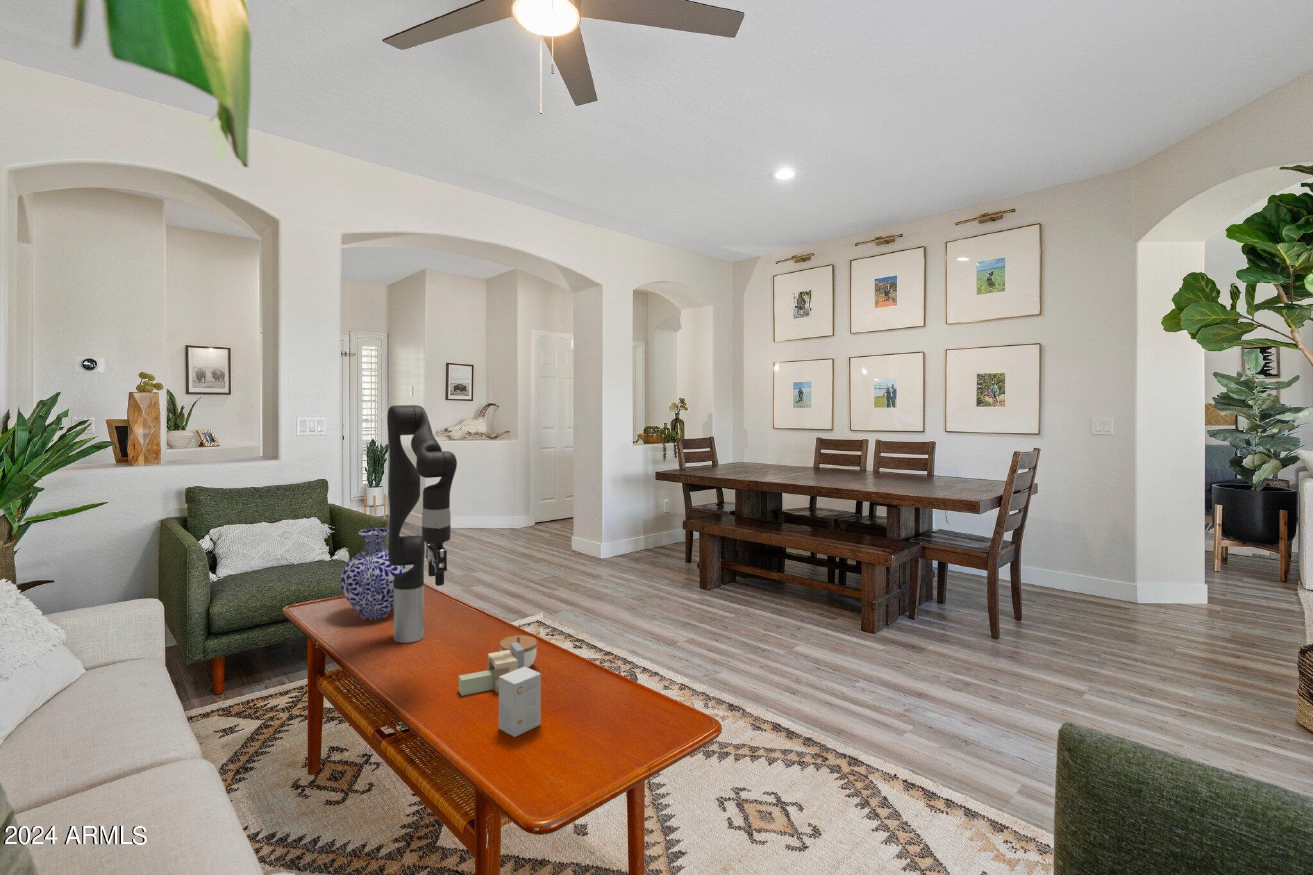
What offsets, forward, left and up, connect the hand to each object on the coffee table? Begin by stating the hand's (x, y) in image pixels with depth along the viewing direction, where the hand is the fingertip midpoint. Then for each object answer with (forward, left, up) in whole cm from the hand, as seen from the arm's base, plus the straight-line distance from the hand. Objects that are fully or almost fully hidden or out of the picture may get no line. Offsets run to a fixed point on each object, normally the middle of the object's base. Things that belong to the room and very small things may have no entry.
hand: (436, 580), depth 184 cm
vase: (-60, -9, -28) cm, 66 cm away
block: (+13, +15, -27) cm, 34 cm away
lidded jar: (+5, +22, -28) cm, 36 cm away
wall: (+13, +19, -27) cm, 36 cm away
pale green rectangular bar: (+14, +9, -28) cm, 32 cm away
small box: (+37, +12, -28) cm, 48 cm away
